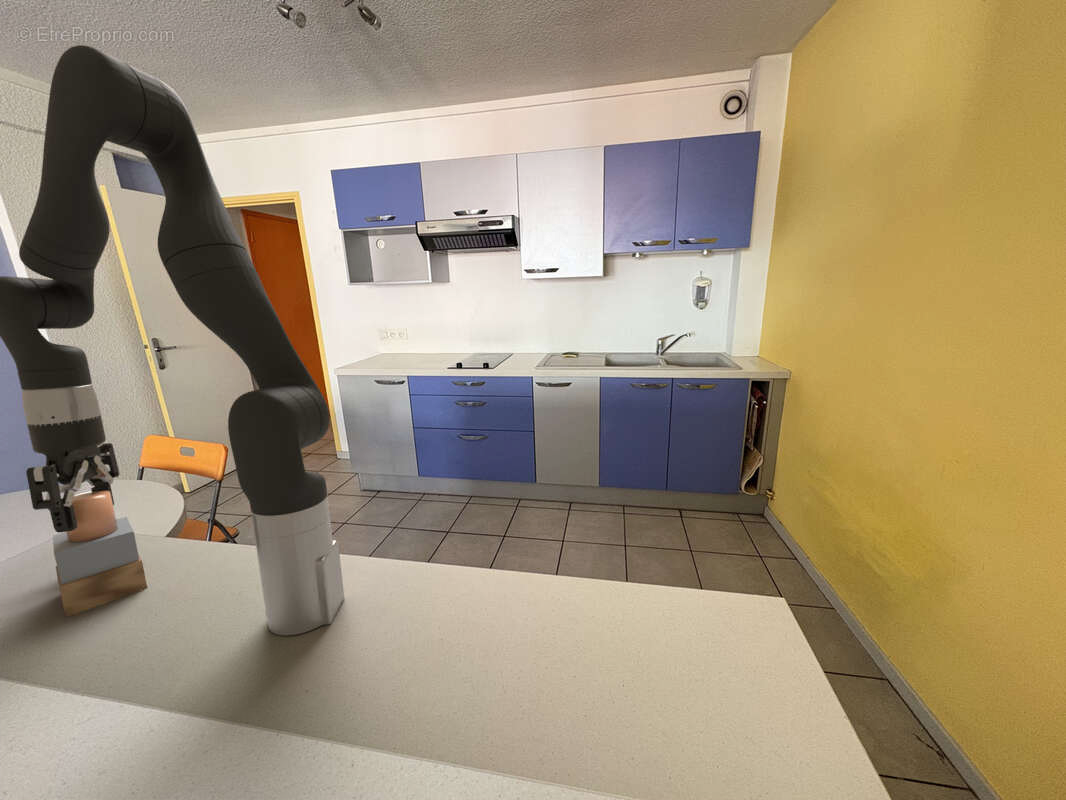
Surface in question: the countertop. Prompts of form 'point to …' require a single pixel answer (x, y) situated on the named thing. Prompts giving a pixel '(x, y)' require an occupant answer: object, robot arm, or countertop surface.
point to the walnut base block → (102, 587)
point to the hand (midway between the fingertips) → (87, 518)
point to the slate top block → (95, 553)
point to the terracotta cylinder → (92, 516)
